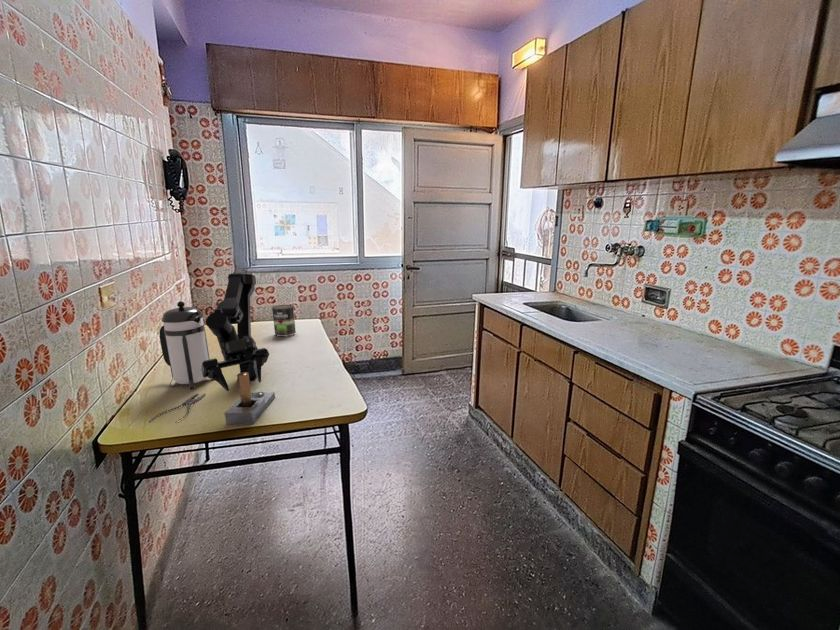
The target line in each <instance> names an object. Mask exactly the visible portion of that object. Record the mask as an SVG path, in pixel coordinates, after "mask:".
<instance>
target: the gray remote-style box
mask: <svg viewBox="0 0 840 630" xmlns="http://www.w3.org/2000/svg"><path fill="white" fill-rule="evenodd" d="M251 394H252V401H253V406H252V407H241V400H240V397H239V398H238V399H237V400H236V401H235V402H234V403H233V404H232V405H231V406H230V407H229V408H228V409H227V410H226V411H225V412H224V419H225V425H226V426H231V425H232V426H233V425H234V426H235V425H238V426H239V425H254V424H255V423H256V421H257V420H258V419H259V418H260V417H261V415H262V414H263V413H264V412H265V411H266V410H267V408H268V407H269V406H270V404H271V403H272V402H273V401H274V400H275V398H276V395H275V392H273V391H269V392H265V391H258V392H251ZM272 400H273V401H272ZM267 406H268V407H267Z"/></svg>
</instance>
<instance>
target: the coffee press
mask: <svg viewBox="0 0 840 630" xmlns="http://www.w3.org/2000/svg"><path fill="white" fill-rule="evenodd" d="M176 306H177V307H176V308H172V309H168V310H167V311H165V312H164V313H163V315H162V317H161V322H162V323H163V325H162V326H161V327H160V329H159V332H158V333H159V334H158V335H159V341H160V347H161V353H162V357H163V360H164V362H165V363H166V364H167V366H168V367H170V371H171V377H172V379H171V380H170V382H169V386H170V387H171V386H172V385H173V387H175V385H176V384H180V385H189V390H195V389H194V388H195V384H197V383H200V382H203V381H205V380H206V379H209V377H203V375H202V371H201V368H202V363H203V361H206V360H210V353H209V347H208V346H209V345H208V340H207V333H206V326H205V325H206V324H205V323H204V319H203V318H204V313H203V312H202V311H201V309H199V308H197V307H194V306H185V302H183V301H182V300H181V301H178V302H177V304H176ZM210 379H211V380H213V381H215V380H214V379H213V378H210ZM173 381H174V382H175V383H173V384H171V383H172V382H173Z"/></svg>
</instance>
